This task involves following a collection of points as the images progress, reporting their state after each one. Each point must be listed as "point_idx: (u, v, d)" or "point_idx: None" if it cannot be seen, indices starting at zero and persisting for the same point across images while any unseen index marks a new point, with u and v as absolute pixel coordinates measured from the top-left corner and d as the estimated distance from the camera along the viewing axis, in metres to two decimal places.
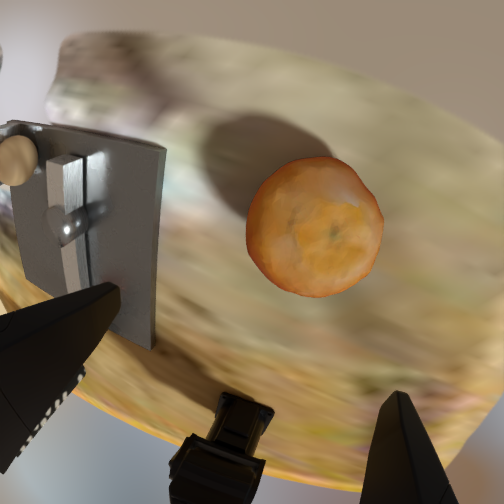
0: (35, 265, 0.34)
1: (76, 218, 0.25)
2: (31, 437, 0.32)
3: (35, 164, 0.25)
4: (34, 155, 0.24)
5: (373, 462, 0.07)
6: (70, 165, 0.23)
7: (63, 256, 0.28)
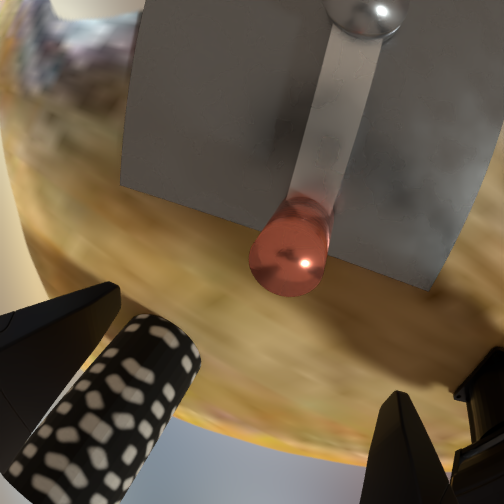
0: (166, 142, 0.19)
1: None
2: (119, 502, 0.16)
3: None
4: None
5: (373, 462, 0.07)
6: None
7: (324, 77, 0.13)
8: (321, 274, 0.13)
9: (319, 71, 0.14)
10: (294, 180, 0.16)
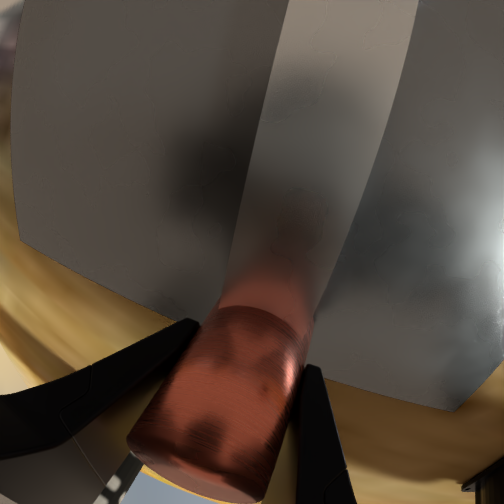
0: (54, 186, 0.11)
1: None
2: None
3: None
4: None
5: None
6: None
7: (288, 49, 0.05)
8: (260, 498, 0.05)
9: None
10: (231, 276, 0.08)
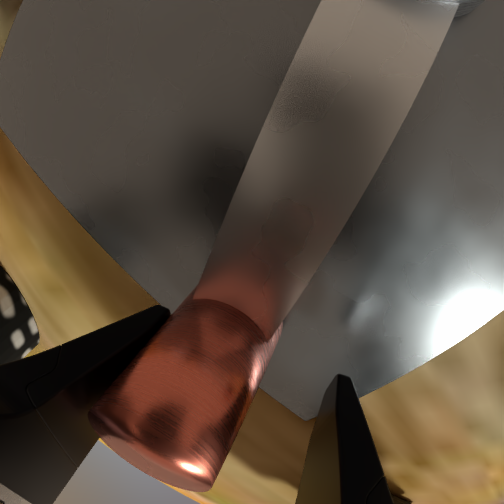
0: (32, 70, 0.09)
1: None
2: None
3: None
4: None
5: (312, 448, 0.07)
6: None
7: (304, 62, 0.05)
8: (207, 488, 0.06)
9: (274, 19, 0.06)
10: (209, 271, 0.08)
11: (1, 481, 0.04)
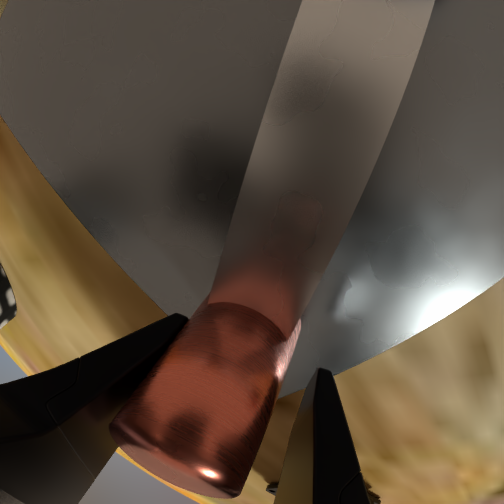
0: (23, 43, 0.09)
1: None
2: None
3: None
4: None
5: (292, 442, 0.07)
6: None
7: (296, 53, 0.05)
8: (236, 493, 0.05)
9: None
10: (222, 273, 0.08)
11: (21, 499, 0.03)
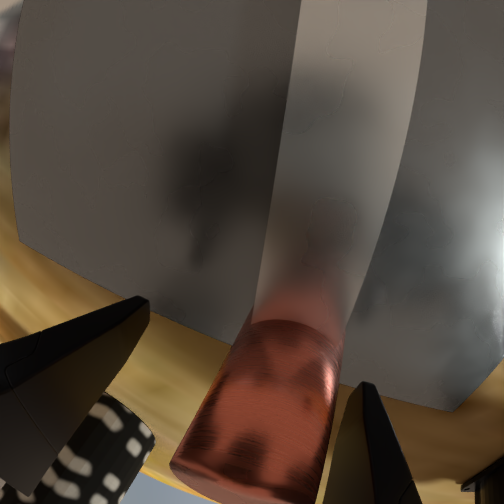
0: (52, 187, 0.11)
1: None
2: None
3: None
4: None
5: (338, 454, 0.07)
6: None
7: (304, 58, 0.05)
8: None
9: (283, 43, 0.07)
10: (262, 291, 0.08)
11: None
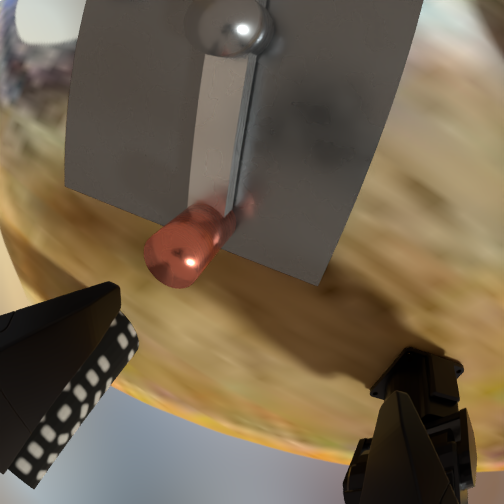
0: (94, 152, 0.21)
1: (265, 13, 0.13)
2: (56, 456, 0.19)
3: None
4: None
5: (373, 462, 0.07)
6: None
7: (202, 99, 0.16)
8: (196, 268, 0.16)
9: None
10: (191, 190, 0.19)
11: None
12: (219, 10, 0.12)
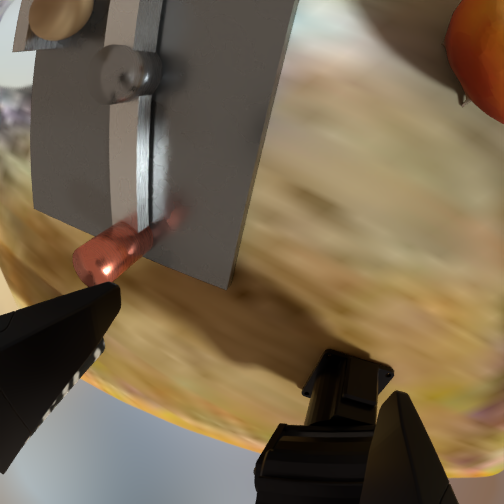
0: (51, 180, 0.25)
1: (148, 59, 0.16)
2: None
3: (89, 12, 0.15)
4: (91, 0, 0.15)
5: (373, 462, 0.07)
6: None
7: (111, 138, 0.19)
8: (105, 275, 0.19)
9: None
10: (113, 211, 0.22)
11: None
12: (108, 66, 0.15)
